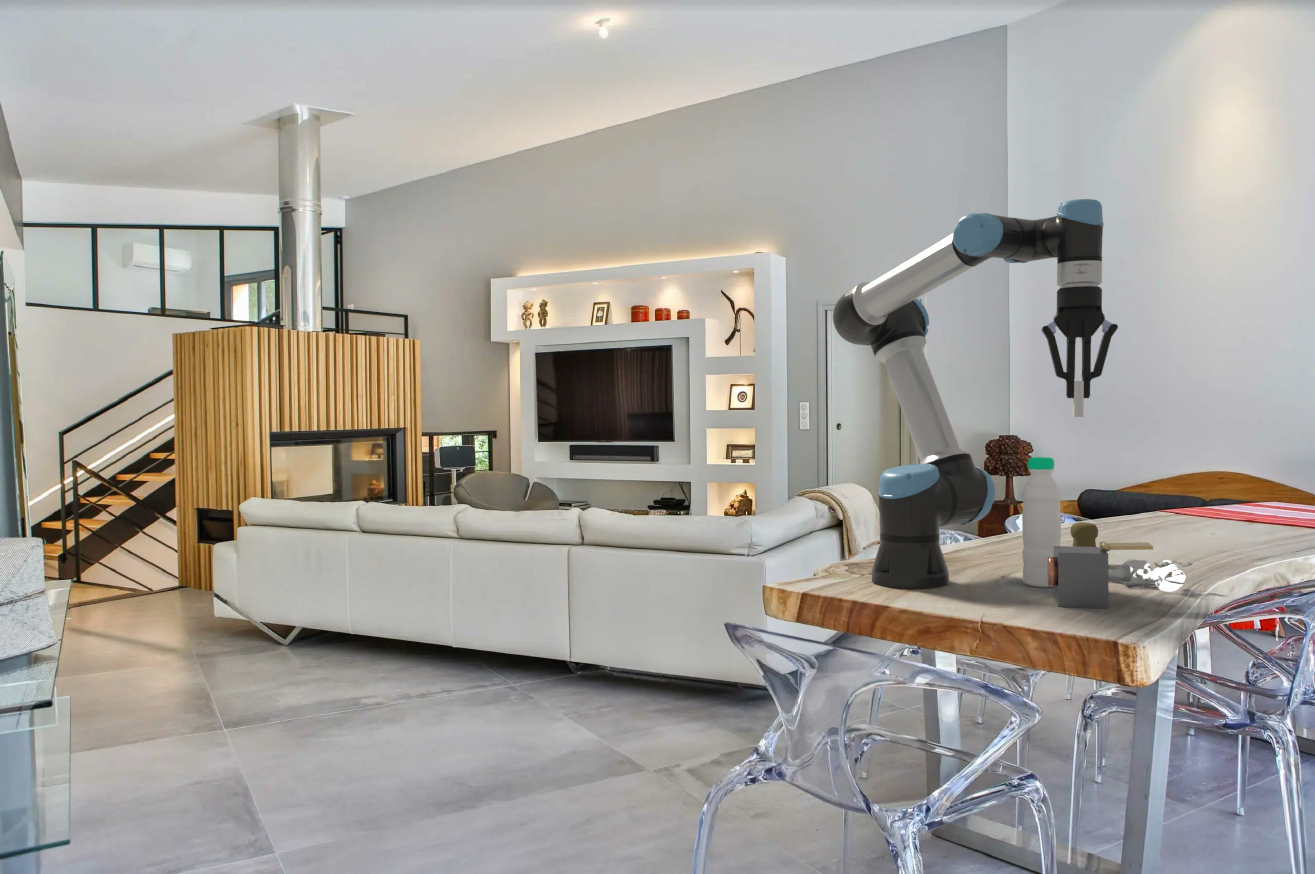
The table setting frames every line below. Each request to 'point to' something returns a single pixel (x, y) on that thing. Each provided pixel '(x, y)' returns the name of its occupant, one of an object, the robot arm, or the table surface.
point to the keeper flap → (1125, 546)
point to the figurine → (1157, 574)
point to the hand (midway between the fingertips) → (1077, 416)
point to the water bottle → (1040, 521)
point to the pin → (1114, 572)
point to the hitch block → (1081, 577)
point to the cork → (1084, 534)
